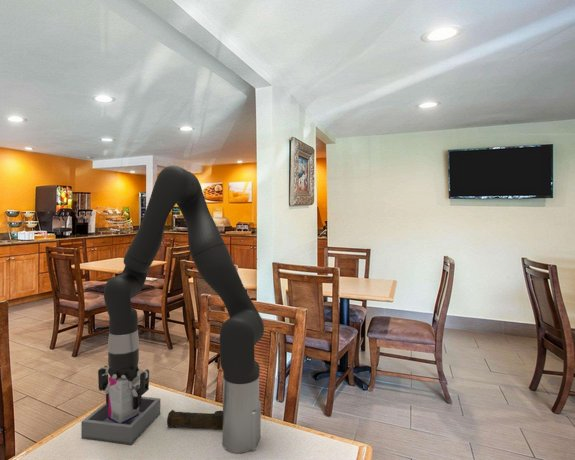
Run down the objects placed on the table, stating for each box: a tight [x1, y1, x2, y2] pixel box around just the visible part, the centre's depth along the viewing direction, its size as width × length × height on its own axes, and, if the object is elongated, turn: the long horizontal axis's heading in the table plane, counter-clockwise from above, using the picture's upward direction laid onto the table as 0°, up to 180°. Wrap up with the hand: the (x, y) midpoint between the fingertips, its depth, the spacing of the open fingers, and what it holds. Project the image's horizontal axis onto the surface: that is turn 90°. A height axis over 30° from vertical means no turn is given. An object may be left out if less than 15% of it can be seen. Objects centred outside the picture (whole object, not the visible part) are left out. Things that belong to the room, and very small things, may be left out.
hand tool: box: [166, 409, 223, 431], centre depth 94 cm, size 19×4×5 cm, turn 84°
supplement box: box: [108, 375, 140, 424], centre depth 93 cm, size 6×6×12 cm
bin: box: [80, 396, 161, 446], centre depth 94 cm, size 14×14×4 cm
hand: (123, 406), depth 94 cm, fingers closed on supplement box, 7 cm apart
